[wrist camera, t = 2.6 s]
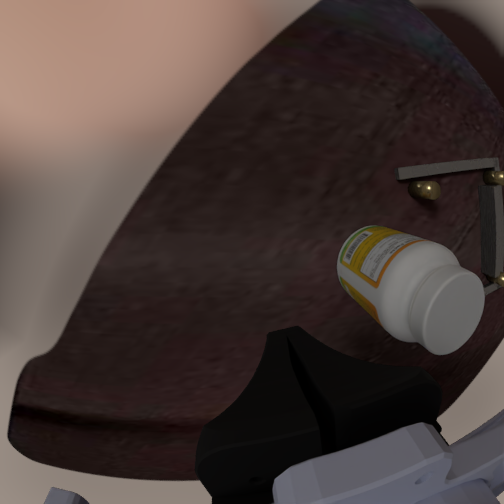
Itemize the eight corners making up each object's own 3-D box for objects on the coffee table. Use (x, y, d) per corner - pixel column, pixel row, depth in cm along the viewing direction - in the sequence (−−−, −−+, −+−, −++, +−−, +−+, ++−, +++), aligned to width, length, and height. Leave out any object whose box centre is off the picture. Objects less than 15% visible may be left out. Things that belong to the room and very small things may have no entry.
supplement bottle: (398, 293, 20) (480, 353, 11) (334, 302, 20) (399, 381, 11) (402, 223, 19) (501, 251, 10) (335, 225, 19) (419, 261, 10)
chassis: (498, 285, 21) (514, 293, 19) (406, 325, 21) (422, 339, 19) (494, 157, 18) (513, 157, 16) (394, 168, 18) (413, 167, 16)
